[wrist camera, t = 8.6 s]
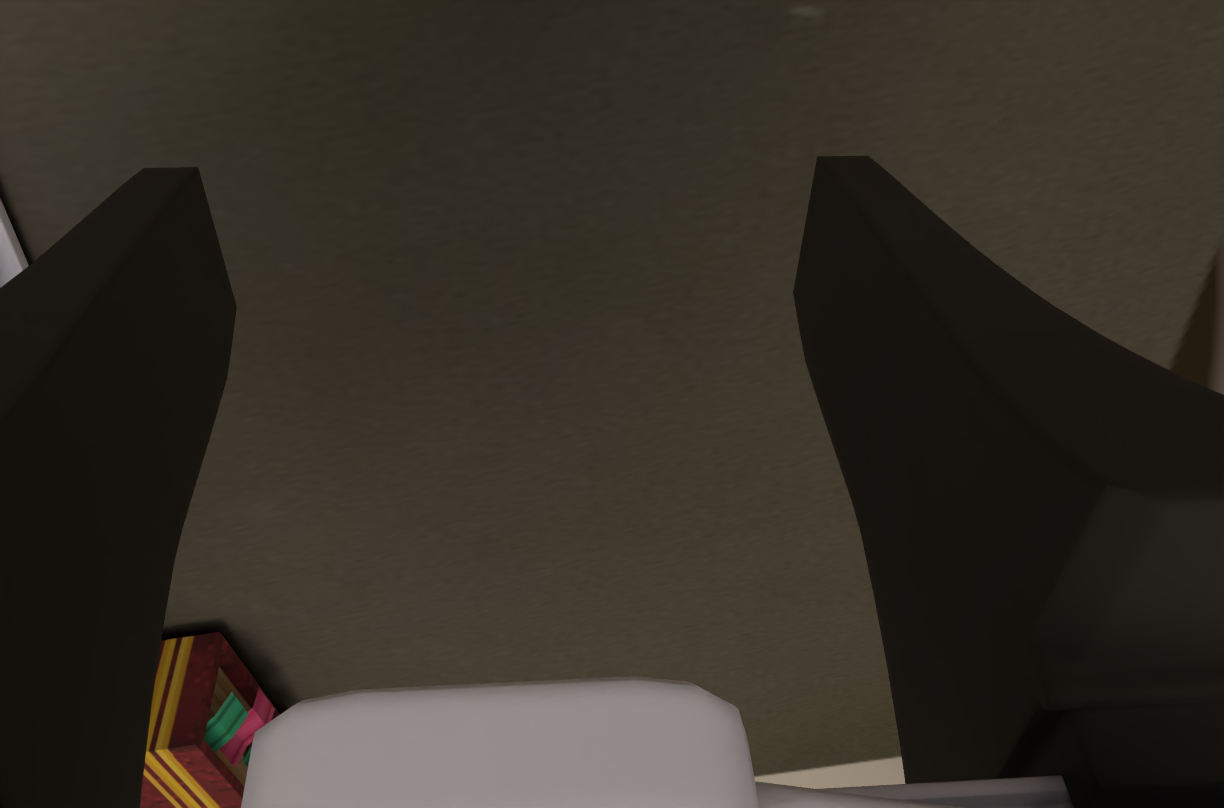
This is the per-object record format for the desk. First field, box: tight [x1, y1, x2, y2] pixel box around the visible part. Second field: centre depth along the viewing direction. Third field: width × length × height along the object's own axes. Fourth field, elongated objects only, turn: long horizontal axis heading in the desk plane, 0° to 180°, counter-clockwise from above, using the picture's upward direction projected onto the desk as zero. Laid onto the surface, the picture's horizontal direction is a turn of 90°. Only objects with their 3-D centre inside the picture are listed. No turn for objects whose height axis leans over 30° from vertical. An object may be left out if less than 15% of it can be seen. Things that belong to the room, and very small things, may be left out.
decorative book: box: [140, 632, 280, 808], centre depth 37 cm, size 11×16×5 cm
